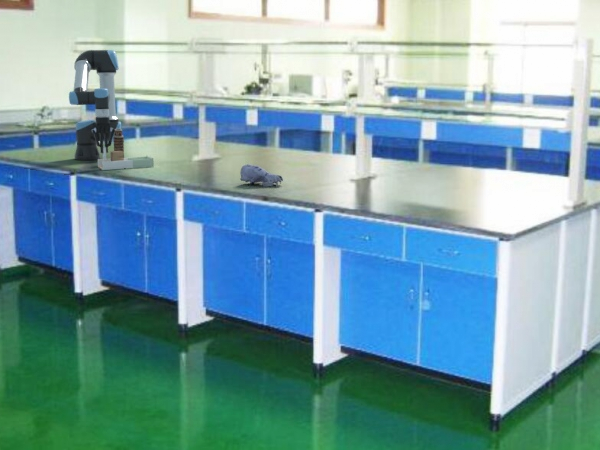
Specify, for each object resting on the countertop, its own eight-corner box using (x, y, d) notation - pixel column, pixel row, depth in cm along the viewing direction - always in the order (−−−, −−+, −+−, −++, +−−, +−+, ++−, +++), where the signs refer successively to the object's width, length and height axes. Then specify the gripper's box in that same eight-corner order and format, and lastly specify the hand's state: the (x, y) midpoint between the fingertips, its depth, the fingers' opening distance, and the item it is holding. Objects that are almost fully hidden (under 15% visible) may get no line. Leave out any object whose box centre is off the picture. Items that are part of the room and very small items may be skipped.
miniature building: (111, 164, 490) (109, 130, 486) (108, 162, 500) (106, 128, 496) (129, 163, 494) (128, 129, 490) (126, 161, 504) (124, 127, 499)
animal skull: (273, 192, 409) (273, 172, 406) (235, 186, 419) (234, 166, 416) (287, 185, 421) (287, 166, 417) (249, 179, 431) (249, 160, 427)
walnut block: (110, 161, 479) (110, 151, 478) (121, 161, 482) (120, 150, 480) (113, 163, 474) (112, 152, 473) (124, 162, 476) (123, 151, 475)
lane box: (98, 167, 480) (97, 158, 479) (148, 164, 492) (147, 155, 491) (102, 170, 469) (102, 161, 468) (153, 166, 481) (153, 157, 480)
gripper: (92, 117, 463) (94, 160, 468) (115, 116, 469) (117, 158, 474) (89, 116, 470) (91, 158, 475) (112, 115, 475) (114, 157, 480)
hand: (104, 158), depth 474 cm, fingers closed
